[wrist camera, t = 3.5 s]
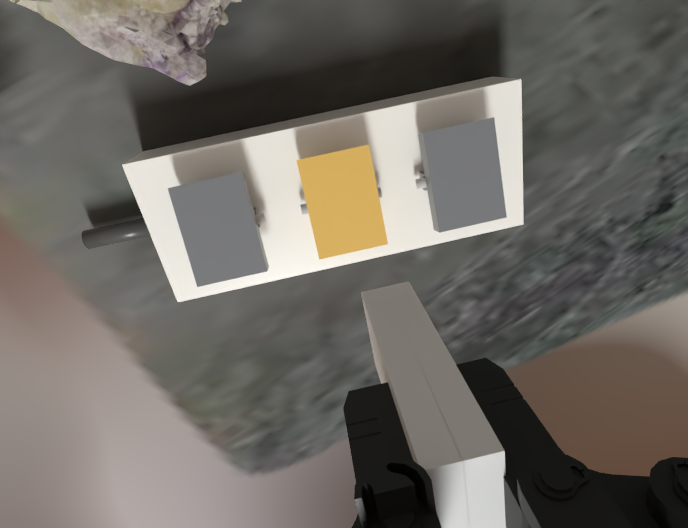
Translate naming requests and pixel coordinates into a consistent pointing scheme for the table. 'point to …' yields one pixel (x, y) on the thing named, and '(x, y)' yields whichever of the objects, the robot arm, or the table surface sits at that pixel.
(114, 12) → the geode
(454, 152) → the block
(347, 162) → the amber rocker
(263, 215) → the white rocker switch box
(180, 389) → the table surface
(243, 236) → the block
